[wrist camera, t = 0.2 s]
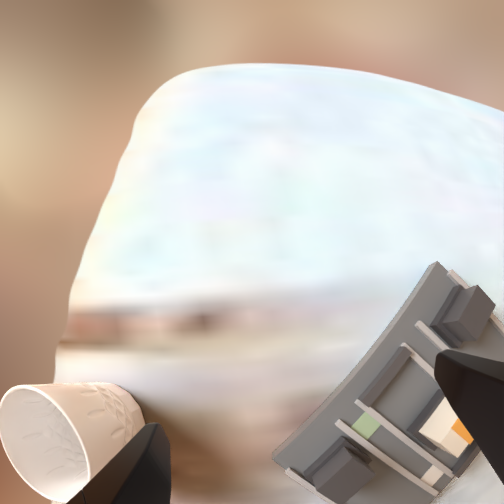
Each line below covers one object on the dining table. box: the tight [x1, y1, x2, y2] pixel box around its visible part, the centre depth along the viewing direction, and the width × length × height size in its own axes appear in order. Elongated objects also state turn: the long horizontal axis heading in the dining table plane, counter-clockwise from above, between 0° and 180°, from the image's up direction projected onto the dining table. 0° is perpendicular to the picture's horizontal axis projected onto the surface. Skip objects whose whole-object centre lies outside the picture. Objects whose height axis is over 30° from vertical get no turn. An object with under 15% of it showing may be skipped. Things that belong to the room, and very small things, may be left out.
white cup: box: [0, 382, 145, 504], centre depth 17 cm, size 8×8×10 cm
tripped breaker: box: [407, 389, 474, 458], centre depth 16 cm, size 3×4×5 cm
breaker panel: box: [272, 261, 504, 504], centre depth 18 cm, size 15×20×5 cm
